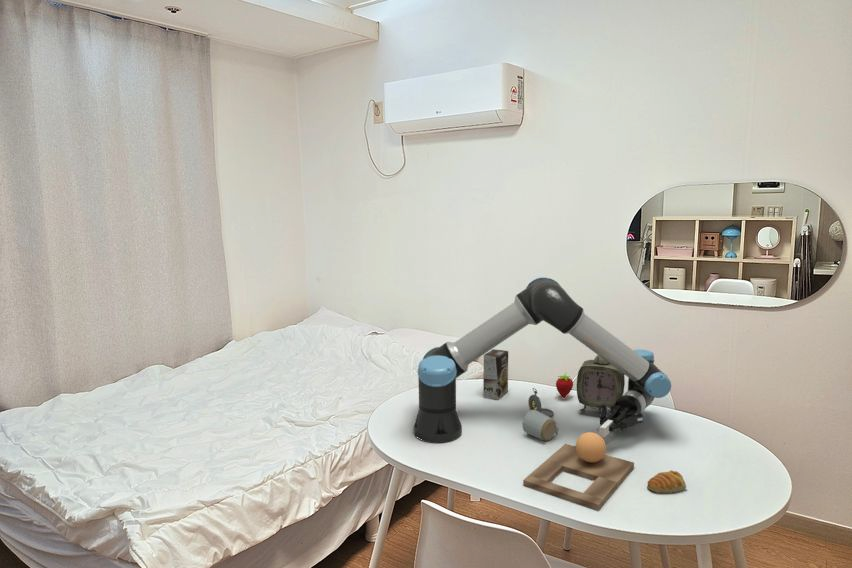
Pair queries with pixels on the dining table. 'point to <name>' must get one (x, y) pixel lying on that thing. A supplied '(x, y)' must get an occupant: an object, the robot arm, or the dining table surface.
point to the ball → (591, 447)
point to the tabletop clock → (599, 384)
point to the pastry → (667, 482)
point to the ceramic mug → (539, 425)
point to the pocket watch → (538, 405)
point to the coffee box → (495, 374)
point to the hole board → (602, 472)
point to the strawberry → (564, 385)
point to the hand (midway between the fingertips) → (602, 432)
